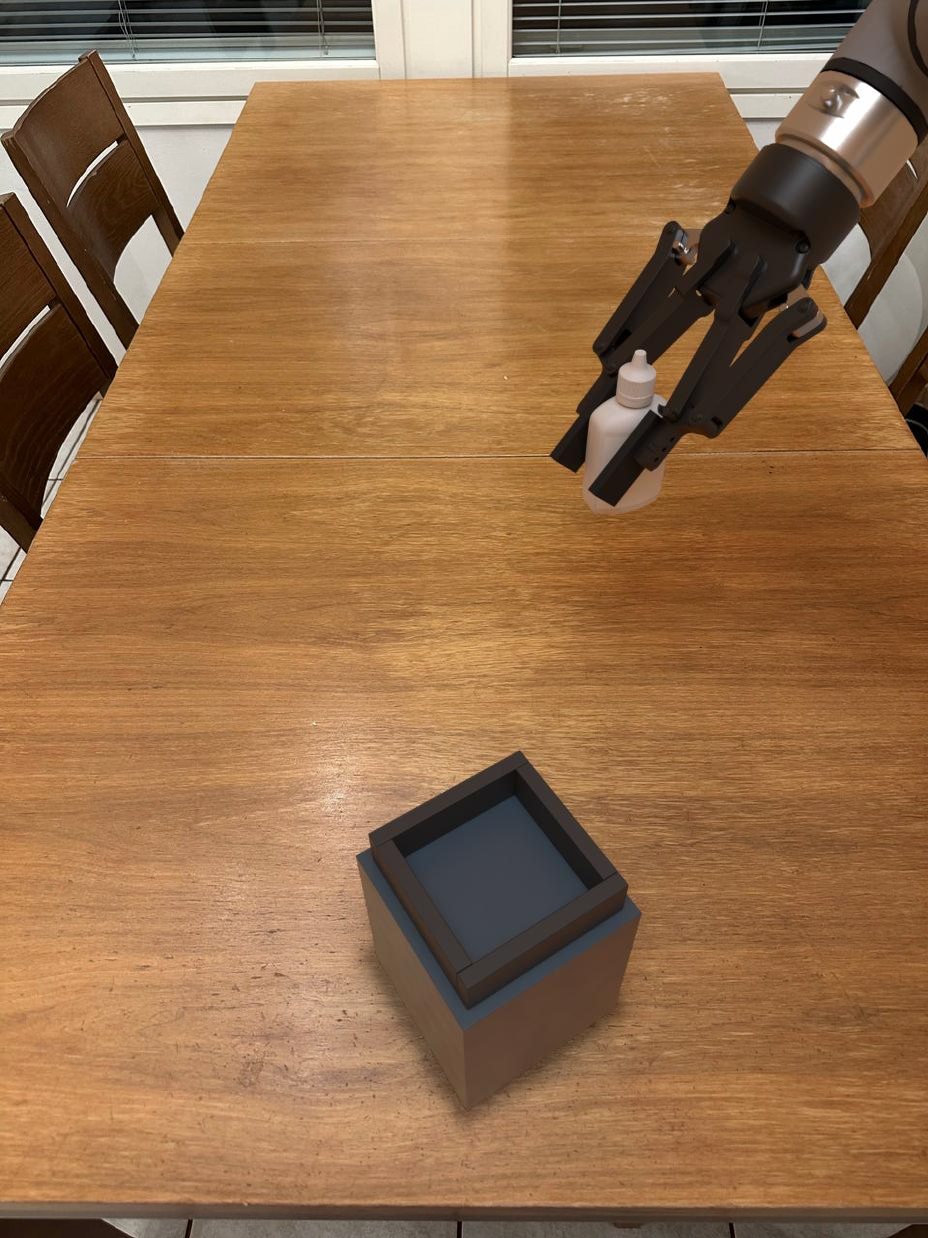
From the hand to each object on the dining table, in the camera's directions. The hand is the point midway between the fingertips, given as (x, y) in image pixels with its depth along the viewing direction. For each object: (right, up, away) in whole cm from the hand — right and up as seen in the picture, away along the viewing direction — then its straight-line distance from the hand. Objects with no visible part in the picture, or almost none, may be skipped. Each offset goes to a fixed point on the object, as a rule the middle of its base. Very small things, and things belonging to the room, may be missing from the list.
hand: (581, 480), depth 65 cm
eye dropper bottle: (+3, -1, +4) cm, 5 cm away
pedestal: (-6, -35, +1) cm, 35 cm away
